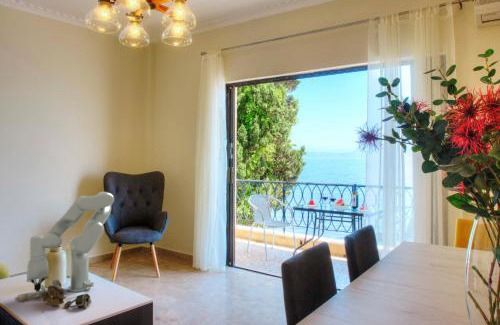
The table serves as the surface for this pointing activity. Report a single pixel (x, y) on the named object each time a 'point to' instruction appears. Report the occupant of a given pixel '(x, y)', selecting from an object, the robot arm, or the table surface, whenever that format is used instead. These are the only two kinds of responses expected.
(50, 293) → the wooden carving
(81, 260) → the robot arm
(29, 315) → the table surface
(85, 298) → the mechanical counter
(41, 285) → the plunger
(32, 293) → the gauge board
